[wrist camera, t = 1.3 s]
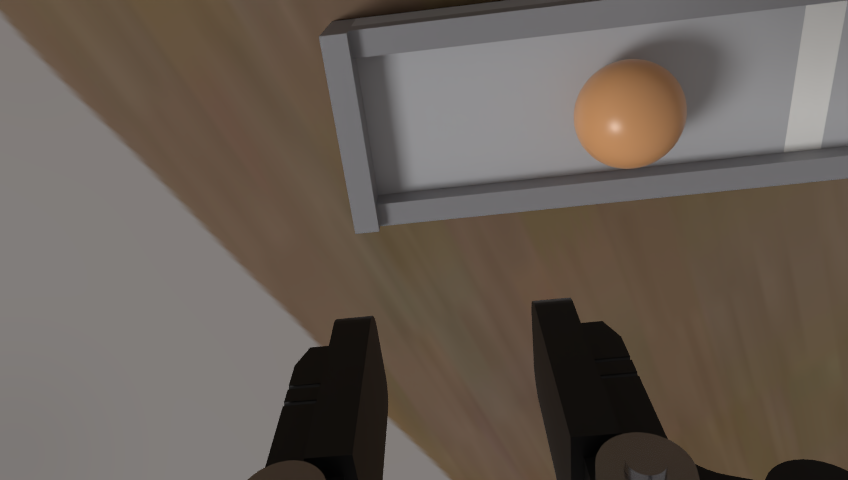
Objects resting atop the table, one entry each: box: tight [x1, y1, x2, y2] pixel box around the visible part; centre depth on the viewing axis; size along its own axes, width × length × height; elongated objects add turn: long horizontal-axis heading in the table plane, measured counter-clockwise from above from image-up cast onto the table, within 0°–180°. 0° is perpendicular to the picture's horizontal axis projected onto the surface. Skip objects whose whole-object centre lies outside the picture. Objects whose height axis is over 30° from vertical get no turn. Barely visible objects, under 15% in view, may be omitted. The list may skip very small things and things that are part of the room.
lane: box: [319, 0, 848, 234], centre depth 25 cm, size 8×34×4 cm, turn 97°
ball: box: [574, 59, 687, 169], centre depth 24 cm, size 4×4×4 cm
